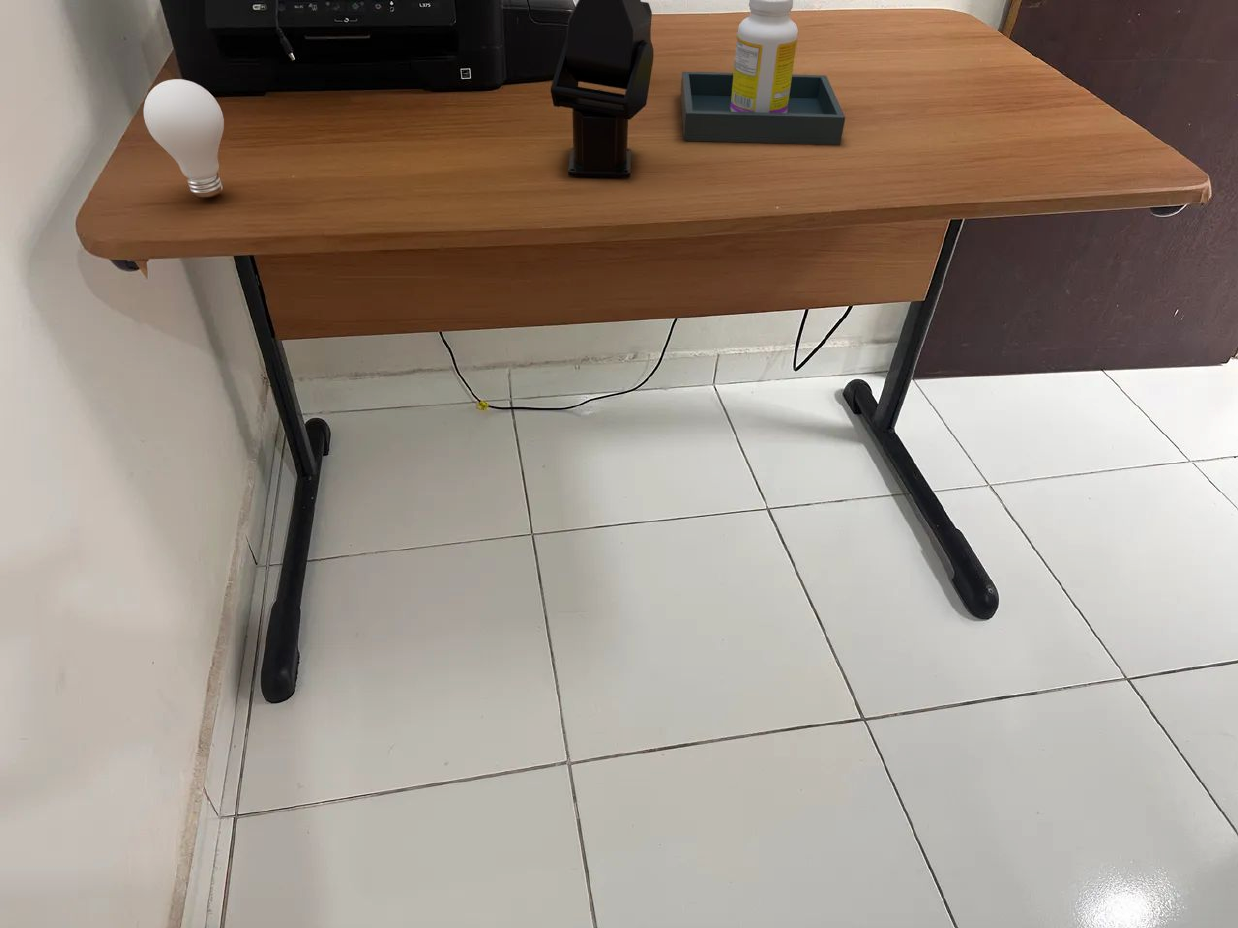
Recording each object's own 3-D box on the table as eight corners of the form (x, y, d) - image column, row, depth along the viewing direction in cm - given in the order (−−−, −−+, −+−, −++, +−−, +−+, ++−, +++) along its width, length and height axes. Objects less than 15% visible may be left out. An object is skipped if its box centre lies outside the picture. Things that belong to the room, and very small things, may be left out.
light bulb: (253, 183, 87) (221, 69, 80) (233, 213, 83) (198, 94, 75) (186, 182, 87) (148, 68, 80) (162, 212, 82) (120, 94, 75)
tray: (840, 145, 97) (845, 117, 95) (684, 141, 97) (685, 113, 95) (821, 101, 107) (826, 75, 105) (680, 97, 108) (681, 71, 105)
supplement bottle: (785, 106, 104) (802, -12, 95) (787, 127, 99) (805, 5, 91) (729, 103, 105) (741, -15, 96) (728, 124, 100) (741, 2, 91)
